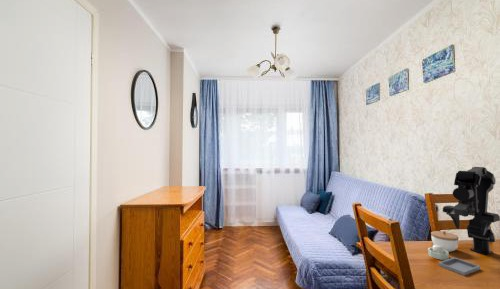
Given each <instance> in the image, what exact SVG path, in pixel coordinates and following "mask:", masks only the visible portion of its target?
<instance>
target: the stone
mask: <svg viewBox="0 0 500 289" xmlns="http://www.w3.org/2000/svg"><path fill="white" fill-rule="evenodd" d="M432 247H433V252H435V253H440V254H444V250H443V246H440V245H434V244H432Z"/></svg>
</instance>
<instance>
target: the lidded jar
mask: <svg viewBox="0 0 500 289" xmlns="http://www.w3.org/2000/svg"><path fill="white" fill-rule="evenodd" d="M430 235H431V236H430V237H431V242H432V245H440V246H443V250H446V251H448V252H454V251H456V250H457V249H458V246H459V236H458V235H456V234H454V233H452V232H447V231H445V230H442V231H440V230H435V231H431V232H430Z"/></svg>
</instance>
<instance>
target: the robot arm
mask: <svg viewBox="0 0 500 289" xmlns="http://www.w3.org/2000/svg"><path fill="white" fill-rule="evenodd" d="M453 185H454V186H457V187H456V188H454V189H453V190H452V195H453V197H454V199H456V200H458V203H457V204H456V205H455V206H453V205H445V206H443V207H442V213H445V215H448V216H449V217H450V218H451V219H452V222H453V223H454V226H455V228H456V229H457V230H459V229H460V217H461V216H462V217H463V218H464V217H469V216H473V218H471V219H469V221H468V225H467V228H466V232H467V237H468V238H469V239H470V238H471V239H472V242H473V243H472V245H473V247H471V248H469V250H470V251H473V252H477V253H480V254H483V255H491V254H494V251H493V250H490V243H496V239H495V238H496V237H495V234H494V232H493V230H492V229H491V228H492V227H491V225H492V224H493V223H497V222H500V215H499V214H498V213H495V212H488V203H489V193H490V192H492V191H493V189H494V186H495V185H496V177H495V175H494V173H492V172H491V171H489V170H488V169H487V168H486V167H483V166H473V167H471V168H470V169H468V170H458V171H457V172H456V174H455V178H454V183H453Z"/></svg>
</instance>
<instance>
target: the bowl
mask: <svg viewBox="0 0 500 289" xmlns="http://www.w3.org/2000/svg"><path fill="white" fill-rule="evenodd" d="M427 255H428V256H429V257H430V258H433V259H437V260H442V261H445V260H448V259H450V254H449V252H448V251H446V250H444V254H440V253H435V252H433V246H431V247H428V248H427Z"/></svg>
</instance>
